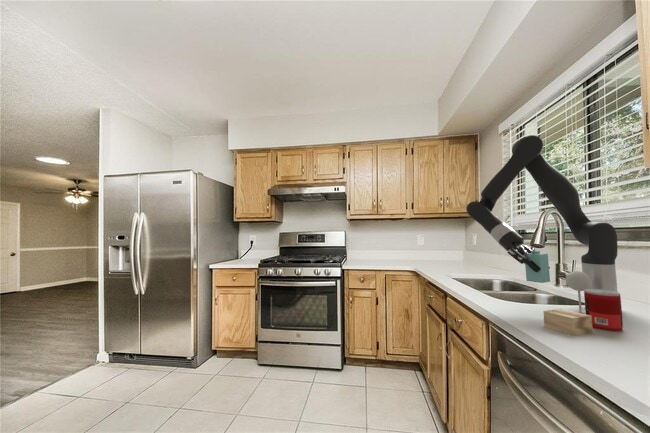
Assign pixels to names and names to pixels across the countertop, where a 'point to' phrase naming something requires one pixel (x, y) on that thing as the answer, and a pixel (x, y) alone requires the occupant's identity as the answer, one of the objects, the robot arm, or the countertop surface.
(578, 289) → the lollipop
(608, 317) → the canned food
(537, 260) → the teal brick
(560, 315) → the wooden block
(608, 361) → the countertop surface
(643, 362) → the countertop surface
